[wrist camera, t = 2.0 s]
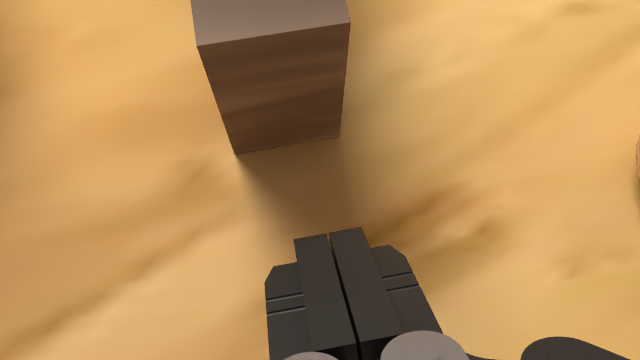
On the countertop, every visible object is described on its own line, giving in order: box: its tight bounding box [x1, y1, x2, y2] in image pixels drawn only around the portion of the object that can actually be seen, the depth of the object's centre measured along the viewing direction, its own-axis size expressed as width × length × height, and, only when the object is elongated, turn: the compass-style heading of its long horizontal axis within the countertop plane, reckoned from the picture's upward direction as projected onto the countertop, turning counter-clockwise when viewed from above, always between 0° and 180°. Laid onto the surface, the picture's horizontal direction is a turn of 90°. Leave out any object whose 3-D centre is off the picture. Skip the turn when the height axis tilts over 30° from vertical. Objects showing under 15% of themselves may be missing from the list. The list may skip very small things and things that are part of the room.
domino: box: [191, 0, 350, 154], centre depth 23 cm, size 2×5×9 cm, turn 100°
